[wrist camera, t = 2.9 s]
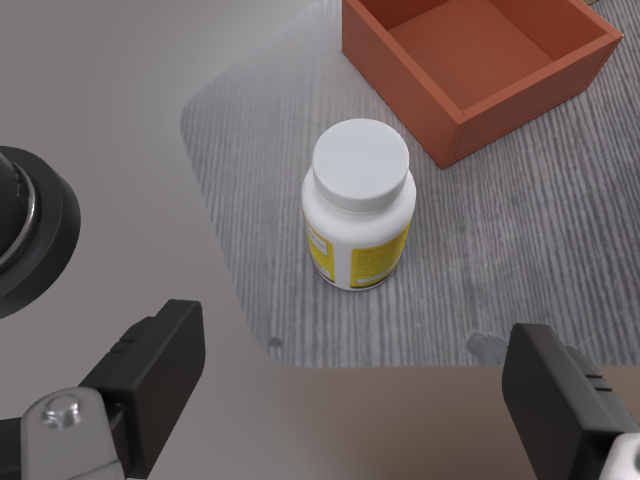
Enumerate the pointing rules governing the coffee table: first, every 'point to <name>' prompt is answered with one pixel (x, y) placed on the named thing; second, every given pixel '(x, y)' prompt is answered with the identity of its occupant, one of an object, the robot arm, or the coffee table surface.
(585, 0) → the cream bin
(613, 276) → the coffee table surface
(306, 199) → the supplement bottle
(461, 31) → the terracotta bin
